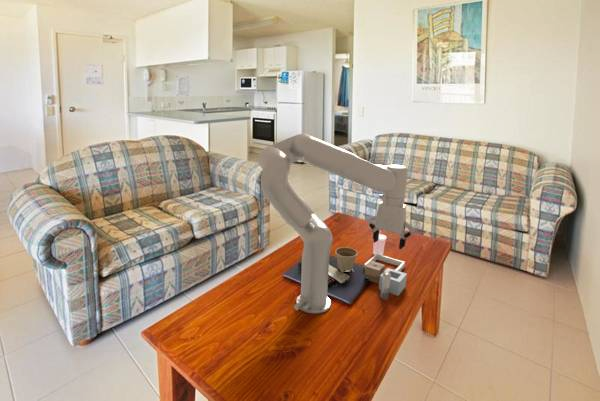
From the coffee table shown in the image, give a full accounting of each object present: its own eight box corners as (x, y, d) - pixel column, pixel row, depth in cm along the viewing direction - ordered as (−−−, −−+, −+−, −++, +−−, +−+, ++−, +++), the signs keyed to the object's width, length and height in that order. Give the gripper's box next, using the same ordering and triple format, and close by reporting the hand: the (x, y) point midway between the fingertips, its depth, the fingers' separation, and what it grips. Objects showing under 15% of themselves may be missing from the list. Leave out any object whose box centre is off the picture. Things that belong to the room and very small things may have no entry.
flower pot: (357, 275, 153) (358, 257, 151) (334, 274, 153) (336, 256, 151) (354, 265, 162) (356, 247, 160) (333, 264, 162) (334, 246, 160)
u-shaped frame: (393, 278, 152) (394, 273, 151) (363, 269, 159) (364, 264, 158) (404, 266, 162) (405, 261, 161) (376, 258, 169) (376, 253, 169)
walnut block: (377, 283, 148) (379, 270, 146) (364, 279, 151) (365, 266, 149) (383, 277, 152) (384, 264, 151) (370, 273, 156) (371, 260, 154)
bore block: (398, 296, 139) (399, 282, 137) (378, 289, 143) (379, 275, 142) (405, 287, 145) (407, 273, 144) (386, 280, 150) (387, 267, 148)
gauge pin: (386, 300, 136) (389, 276, 133) (378, 297, 138) (381, 273, 135) (389, 296, 138) (392, 273, 135) (382, 294, 140) (384, 270, 137)
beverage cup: (375, 249, 178) (378, 223, 174) (386, 253, 174) (389, 226, 170) (369, 253, 174) (371, 226, 169) (380, 257, 170) (383, 230, 166)
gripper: (366, 198, 130) (362, 242, 135) (414, 207, 121) (408, 254, 126) (374, 193, 136) (370, 235, 141) (420, 202, 127) (414, 247, 132)
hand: (388, 244), depth 134 cm, fingers open, 9 cm apart
